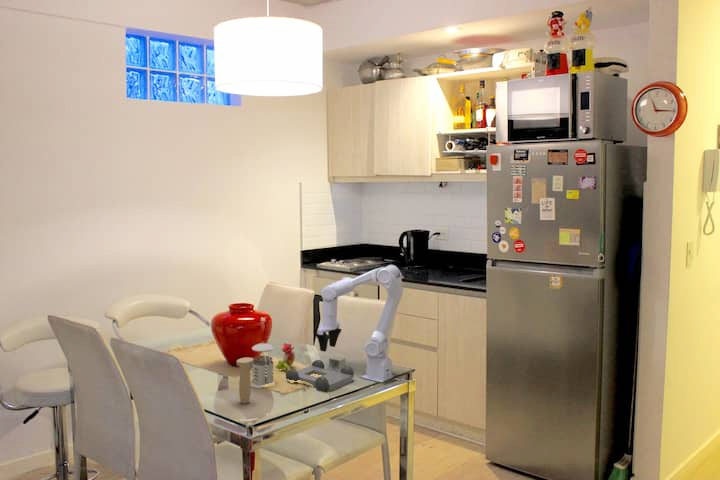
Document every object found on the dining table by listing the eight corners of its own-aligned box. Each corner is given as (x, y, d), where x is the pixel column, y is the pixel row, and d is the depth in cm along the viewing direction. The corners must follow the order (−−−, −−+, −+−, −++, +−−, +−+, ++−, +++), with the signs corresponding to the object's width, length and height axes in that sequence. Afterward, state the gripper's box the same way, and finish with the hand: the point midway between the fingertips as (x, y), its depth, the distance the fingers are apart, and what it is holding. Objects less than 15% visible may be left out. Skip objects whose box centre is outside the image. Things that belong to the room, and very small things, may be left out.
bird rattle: (282, 372, 284) (272, 369, 276) (287, 344, 287) (278, 341, 279) (296, 374, 282) (286, 371, 274) (301, 346, 285) (292, 343, 277)
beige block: (345, 370, 282) (345, 358, 281) (339, 373, 279) (339, 360, 278) (335, 368, 285) (335, 356, 284) (329, 370, 281) (329, 358, 281)
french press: (271, 378, 270) (271, 314, 267) (281, 387, 259) (281, 321, 256) (246, 381, 266) (246, 316, 263) (255, 390, 255) (255, 323, 252)
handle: (256, 400, 245) (256, 358, 243) (245, 406, 239) (245, 363, 238) (244, 398, 247) (244, 356, 245) (233, 404, 241) (233, 361, 240)
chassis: (354, 380, 269) (354, 368, 268) (326, 392, 255) (327, 379, 254) (313, 370, 280) (313, 358, 280) (284, 381, 266) (284, 368, 266)
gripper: (329, 310, 286) (327, 342, 288) (311, 317, 273) (309, 351, 275) (344, 312, 283) (343, 345, 285) (327, 319, 270) (325, 354, 272)
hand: (327, 348), depth 280 cm, fingers open, 7 cm apart
